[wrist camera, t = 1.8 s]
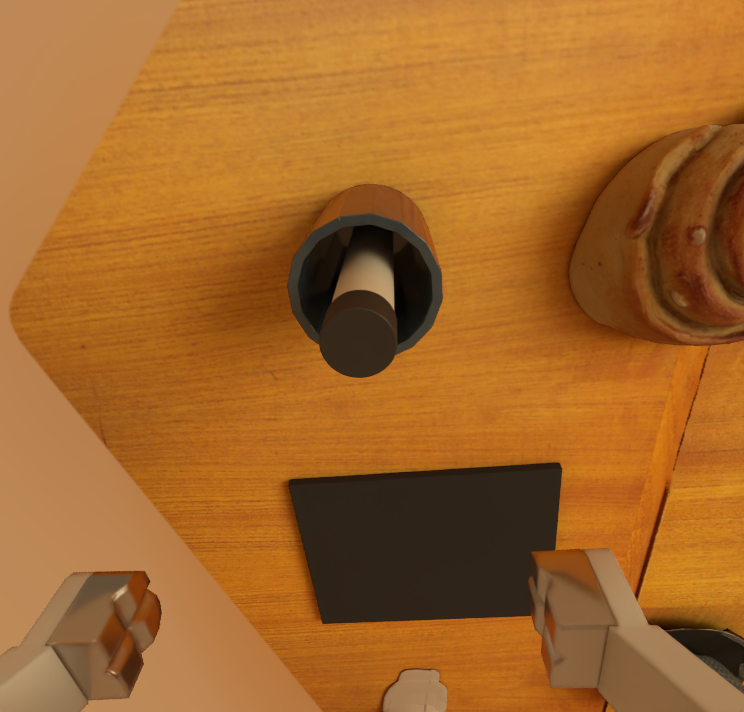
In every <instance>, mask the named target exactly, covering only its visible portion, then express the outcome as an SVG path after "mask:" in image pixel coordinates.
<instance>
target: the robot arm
mask: <svg viewBox="0 0 744 712" xmlns="http://www.w3.org/2000/svg"><path fill="white" fill-rule="evenodd" d="M529 566H530V570H531V573H532V576H531V577H530V578H529V579H528V597H529V606H530V611H531V616H532V620H533V624H534V628H535V630H536V631H537V632H538V633H539V634H540V635H541V636H542V646H541V654H542V657H543V661H544V664H545V668H546V672H547V675H548V679H549V682H550V686H551V688H598V692H599V693H600V694H601V695H602V696H603V697H604V698H605V700H606V701H607V702H608V703H609V704H610V705H611V706H612V708H613V709H614V710H615V711H616V712H744V694H743V693H742V692H740V691H739V690H738V689H737V688H735V687H734V686H733V685H732V684H730V683H729V682H728V681H727V680H725V679H724V678H723V677H722V676H720V675H719V674H718V673H717V672H715V671H714V670H713V669H712V668H710V667H709V666H708V665H707V664H705V663H704V662H703V661H702V660H700V659H699V658H698V657H697V656H695V655H694V654H693V653H692V652H690V651H689V650H688V649H687V648H685V647H684V646H683V645H682V644H680V643H679V642H678V641H677V640H675V639H674V638H673V637H672V636H670V635H669V634H668V633H667V632H665V631H664V630H663V629H662V628H660V627H659V626H658V625H649V624H648V622H647V620H646V618H645V616H644V614H643V612H642V610H641V608H640V606H639V604H638V602H637V600H636V598H635V596H634V594H633V592H632V590H631V588H630V586H629V584H628V582H627V580H626V578H625V576H624V574H623V572H622V570H621V568H620V566H619V564H618V562H617V560H616V558H615V556H614V554H613V552H612V551H611V550H610V549H609V548H600V549H582V550H581V549H570V550H553V551H537V552H531V554H530V557H529ZM149 583H150V580H149V578H148V577H147V574H146V573H145V571H113V572H112V571H111V572H76V573H73V574H71V575H70V576H69V577H67V578H66V579H65V580H64V582H63V583H62V584H61V586H60V587H59V589H58V590H57V592H56V593H55V595H54V596H53V598H52V599H51V601H50V602H49V603H48V605H47V606H46V608H45V609H44V611H43V612H42V614H41V615H40V617H39V618H38V619H37V621H36V622H35V624H34V625H33V627H32V628H31V630H30V631H29V632H28V634H27V635H26V637H25V638H24V640H23V641H22V643H21V644H20V646H19V647H12V648H10V649H9V650H7V651H6V652H5V653H3V654H2V655H1V656H0V712H81V710H82V709H83V708H84V707H85V706H86V705H87V704H88V701H87V700H103V699H122V698H129V696H130V694H131V692H132V690H133V687H134V685H135V683H136V681H137V678H138V676H139V674H140V672H141V669H142V667H143V665H144V663H143V658H142V654H141V653H142V652H143V651H145V650H146V649H147V648H148V647H149V646H150V645H151V644H152V643H153V642H154V640H155V637H156V635H157V632H158V630H159V626H160V620H161V614H162V613H161V605H160V601H159V599H158V597H157V595H156V594H154V593H152V592H151V591H150V590H148V589H147V587H148V585H149Z"/></svg>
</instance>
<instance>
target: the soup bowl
mask: <svg viewBox="0 0 744 712" xmlns="http://www.w3.org/2000/svg"><path fill="white" fill-rule="evenodd" d="M664 631H665V632H667V633H668V634H669V635H670V636H672V637H673V638H674V639H675V640H677V641H678V642H679V643H680V644H682V645H683V646H684V647H685V648H687V649H688V650H689V651H690V652H692V653H693V654H694V655H695V656H697V657H698V658H699V659H700V660H702V661H703V662H704V663H705V664H707V665H708V666H709V667H710V668H712V669H713V670H714V671H715V672H717V673H718V674H719V675H720V676H722V677H723V678H724V679H725V680H727V681H728V682H729V683H730V684H732V685H733V686H734V687H735V688H737V689H738V690H739V691H740V692H742V693H743V694H744V686H743V685H742V683H743V681H744V638H743V637H741V636H739V635H737V634H736V633H734V632H732V631H731V630H729V629H728V628H727V629H725V630H723V631H718V630H712V629H674V630H664Z"/></svg>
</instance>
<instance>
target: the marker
mask: <svg viewBox="0 0 744 712" xmlns="http://www.w3.org/2000/svg"><path fill="white" fill-rule="evenodd" d="M397 345H398V343H397V318H396V314H395V312H394V257H393V241H392V238H391V236H390V234H389V233H388V232H387V231H386V230H385V229H384V228H381V227H378V226H374V225H365V226H362V227H360V228H358V229H357V230H356V231H355V232H354V233H353V235H352V236H351V239H350V242H349V245H348V248H347V252H346V255H345V259H344V262H343V266H342V269H341V272H340V276H339V279H338V283H337V286H336V290H335V293H334V296H333V300H332V303H331V304H330V306H329V308H328V309H327V312H326V315H325V318H324V322H323V325H322V328H321V332H320V336H319V347H320V351H321V353H322V356H323V357H324V359H325V361H326V362H327V363H328V364H329V365H330V366H331V367H332V368H333V369H334V370H336V371H337V372H339V373H341V374H343V375H346V376H349V377H356V378H363V377H369V376H373V375H375V374H378V373H379V372H381V371H383V370H384V369H385V368H386V367H387V366H389V364H390V363H391V362H392V360H393V359H394V357H395V354H396V351H397Z"/></svg>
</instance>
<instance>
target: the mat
mask: <svg viewBox="0 0 744 712" xmlns="http://www.w3.org/2000/svg"><path fill="white" fill-rule="evenodd" d="M561 476H562V468H561V466H560V463H546V464H530V465H514V466H498V467H483V468H467V469H451V470H435V471H419V472H403V473H387V474H372V475H356V476H340V477H324V478H308V479H292V480H290V482H289V490H290V494H291V498H292V502H293V506H294V510H295V514H296V518H297V522H298V526H299V530H300V534H301V538H302V542H303V546H304V550H305V554H306V559H307V563H308V567H309V571H310V575H311V579H312V583H313V587H314V591H315V595H316V599H317V603H318V607H319V611H320V615H321V619H322V623H323V624H332V623H358V622H384V621H410V620H437V619H463V618H489V617H515V616H531V611H530V606H529V597H528V579H529V578H530V577H531V576H532V573H531V570H530V566H529V557H530V554H531V552H537V551H553V550H555V545H556V534H557V522H558V511H559V499H560V487H561Z"/></svg>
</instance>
